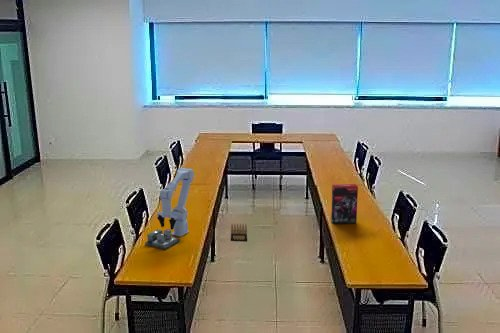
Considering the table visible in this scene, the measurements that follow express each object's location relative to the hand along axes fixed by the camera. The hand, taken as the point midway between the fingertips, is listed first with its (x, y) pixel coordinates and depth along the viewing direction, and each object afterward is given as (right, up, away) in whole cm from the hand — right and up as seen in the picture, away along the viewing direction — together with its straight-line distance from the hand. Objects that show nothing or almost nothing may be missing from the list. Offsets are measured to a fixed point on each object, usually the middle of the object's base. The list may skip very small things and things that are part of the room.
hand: (167, 227), depth 334 cm
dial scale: (-3, -10, 0) cm, 10 cm away
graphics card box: (+118, 0, +35) cm, 123 cm away
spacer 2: (0, -7, +2) cm, 7 cm away
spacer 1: (-3, -8, -4) cm, 10 cm away
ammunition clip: (+45, -9, +4) cm, 46 cm away
